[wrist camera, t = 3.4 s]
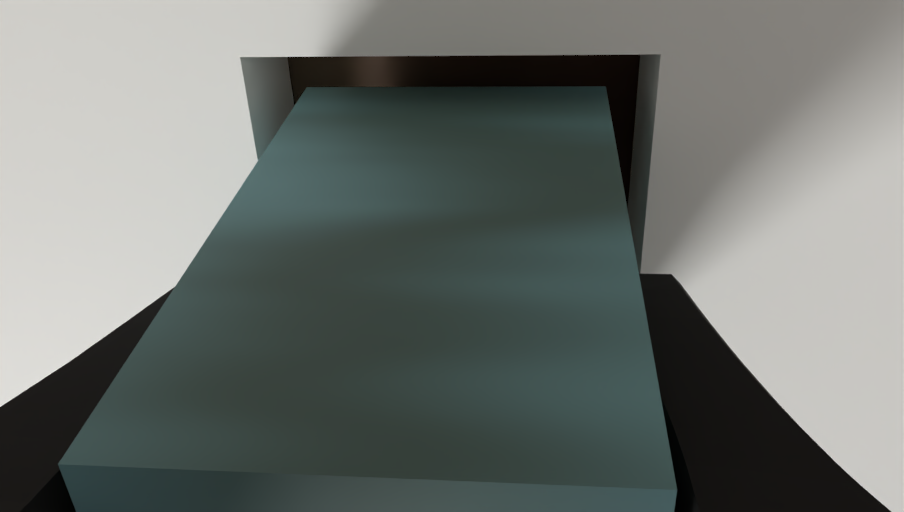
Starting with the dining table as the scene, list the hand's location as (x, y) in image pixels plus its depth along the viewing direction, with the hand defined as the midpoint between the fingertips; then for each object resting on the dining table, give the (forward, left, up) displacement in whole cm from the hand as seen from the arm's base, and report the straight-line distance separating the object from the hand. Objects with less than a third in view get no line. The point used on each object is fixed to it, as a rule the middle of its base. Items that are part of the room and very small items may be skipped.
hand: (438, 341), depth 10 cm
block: (0, 0, -3) cm, 3 cm away
